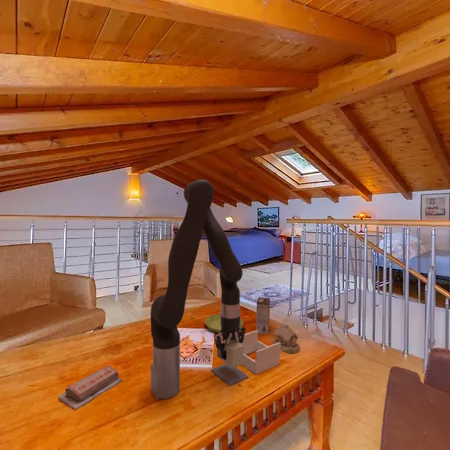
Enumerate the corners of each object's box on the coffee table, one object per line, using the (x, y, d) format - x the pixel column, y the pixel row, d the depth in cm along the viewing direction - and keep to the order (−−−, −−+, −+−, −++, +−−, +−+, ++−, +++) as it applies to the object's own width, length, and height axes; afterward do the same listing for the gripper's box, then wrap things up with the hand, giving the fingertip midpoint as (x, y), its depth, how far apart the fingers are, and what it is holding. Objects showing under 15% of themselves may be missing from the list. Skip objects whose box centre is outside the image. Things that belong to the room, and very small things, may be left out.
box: (232, 368, 106) (232, 349, 106) (217, 356, 114) (217, 339, 114) (243, 363, 109) (243, 345, 109) (227, 352, 117) (227, 335, 117)
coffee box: (257, 326, 157) (258, 296, 155) (269, 327, 155) (270, 297, 154) (255, 333, 148) (256, 302, 146) (268, 334, 146) (269, 303, 145)
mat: (229, 386, 105) (229, 384, 105) (211, 370, 114) (211, 369, 114) (248, 377, 110) (248, 376, 110) (229, 363, 120) (229, 362, 120)
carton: (256, 374, 112) (256, 352, 112) (233, 358, 124) (233, 337, 123) (279, 363, 120) (280, 342, 119) (256, 349, 131) (256, 330, 131)
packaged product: (105, 361, 111) (122, 370, 106) (105, 373, 112) (122, 382, 107) (57, 386, 96) (75, 397, 91) (58, 400, 96) (75, 412, 91)
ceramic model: (267, 342, 139) (268, 321, 138) (286, 337, 144) (286, 317, 144) (287, 355, 127) (287, 333, 126) (306, 350, 132) (307, 328, 131)
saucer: (199, 322, 160) (199, 317, 160) (232, 317, 169) (232, 311, 169) (214, 338, 141) (214, 332, 141) (250, 331, 151) (250, 325, 150)
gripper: (220, 321, 103) (220, 367, 104) (251, 312, 112) (250, 355, 113) (209, 314, 109) (208, 358, 110) (238, 306, 118) (238, 347, 119)
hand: (229, 356), depth 112 cm, fingers closed on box, 5 cm apart
